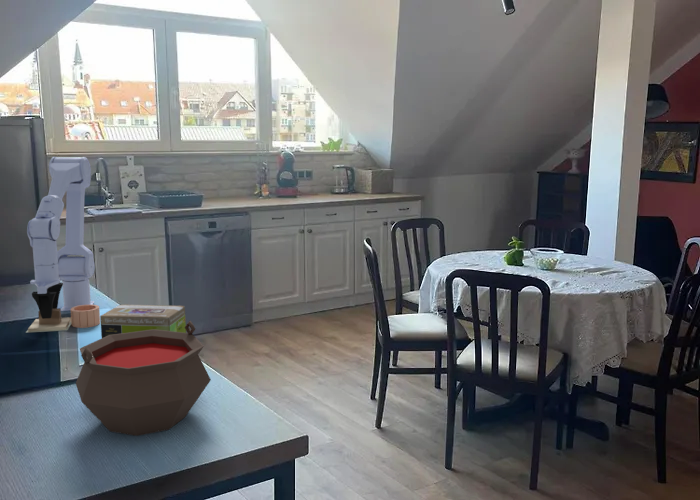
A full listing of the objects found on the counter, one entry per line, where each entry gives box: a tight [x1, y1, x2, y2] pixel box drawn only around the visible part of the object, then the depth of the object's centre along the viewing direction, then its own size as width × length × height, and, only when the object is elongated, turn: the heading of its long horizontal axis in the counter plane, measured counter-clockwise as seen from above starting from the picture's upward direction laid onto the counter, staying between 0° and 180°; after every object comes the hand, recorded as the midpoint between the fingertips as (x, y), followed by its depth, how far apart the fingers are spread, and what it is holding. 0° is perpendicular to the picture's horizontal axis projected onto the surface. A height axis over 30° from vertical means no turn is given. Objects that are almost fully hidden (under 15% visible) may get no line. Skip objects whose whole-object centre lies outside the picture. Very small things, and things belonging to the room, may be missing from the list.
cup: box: [70, 304, 101, 329], centre depth 177 cm, size 7×7×5 cm
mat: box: [25, 322, 72, 334], centre depth 175 cm, size 10×10×1 cm
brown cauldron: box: [75, 320, 212, 437], centre depth 120 cm, size 24×24×16 cm
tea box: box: [100, 304, 187, 339], centre depth 141 cm, size 15×10×15 cm
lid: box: [27, 307, 71, 333], centre depth 175 cm, size 9×9×4 cm
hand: (49, 314), depth 175 cm, fingers open, 7 cm apart
